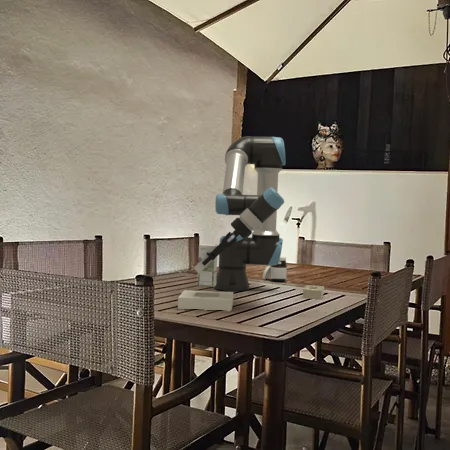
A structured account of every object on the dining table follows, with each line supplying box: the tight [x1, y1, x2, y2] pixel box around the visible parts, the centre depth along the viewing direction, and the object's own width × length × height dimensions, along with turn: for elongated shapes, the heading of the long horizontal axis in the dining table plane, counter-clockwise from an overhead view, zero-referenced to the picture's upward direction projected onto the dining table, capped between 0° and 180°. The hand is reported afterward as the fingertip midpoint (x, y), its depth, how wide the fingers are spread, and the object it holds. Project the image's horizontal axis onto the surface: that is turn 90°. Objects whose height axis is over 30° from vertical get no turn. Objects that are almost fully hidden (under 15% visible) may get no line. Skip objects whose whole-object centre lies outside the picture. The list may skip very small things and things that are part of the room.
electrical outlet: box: [302, 284, 325, 300], centre depth 222 cm, size 7×4×18 cm
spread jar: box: [262, 256, 288, 283], centre depth 262 cm, size 12×11×12 cm
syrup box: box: [197, 243, 218, 288], centre depth 189 cm, size 6×6×14 cm
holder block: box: [177, 289, 235, 312], centre depth 191 cm, size 18×16×4 cm
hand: (197, 269), depth 190 cm, fingers closed on syrup box, 6 cm apart
